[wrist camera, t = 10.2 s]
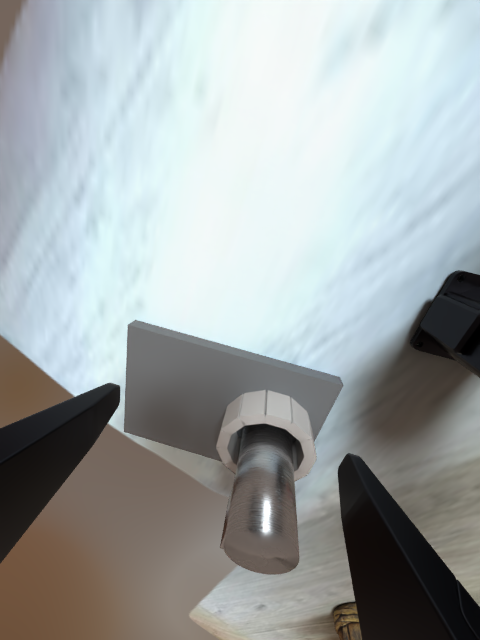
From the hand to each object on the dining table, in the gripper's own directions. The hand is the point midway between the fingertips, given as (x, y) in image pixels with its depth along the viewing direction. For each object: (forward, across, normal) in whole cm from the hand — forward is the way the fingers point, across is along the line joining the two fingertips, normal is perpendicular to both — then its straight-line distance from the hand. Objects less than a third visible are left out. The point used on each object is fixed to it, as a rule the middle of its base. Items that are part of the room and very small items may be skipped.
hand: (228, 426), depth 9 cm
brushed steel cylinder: (+11, -4, +13) cm, 18 cm away
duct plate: (+12, +1, +11) cm, 17 cm away
